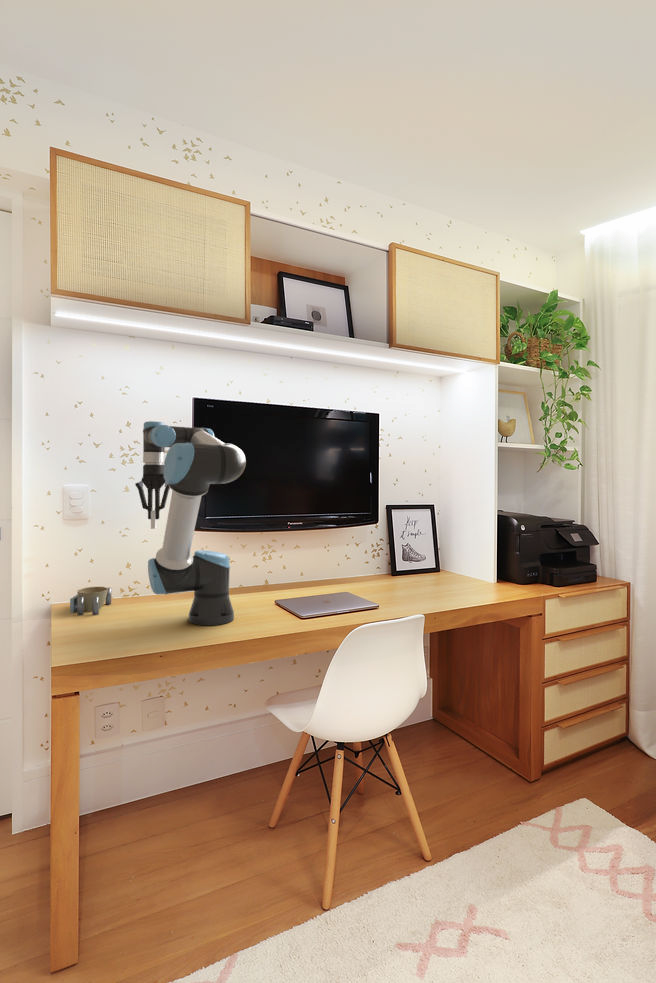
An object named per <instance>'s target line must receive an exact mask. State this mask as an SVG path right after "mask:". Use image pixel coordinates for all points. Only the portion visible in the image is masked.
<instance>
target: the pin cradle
mask: <svg viewBox="0 0 656 983" xmlns="http://www.w3.org/2000/svg"><path fill="white" fill-rule="evenodd" d="M107 588H108V592H107V596H106V599H105V601H104V603H105V605H107V606H110V605H112V587H107ZM69 606H70V607H69V613H70V614H75V613H76V612H77V613H76V614H77V616H83V615H84V614H85V613H84V611H85V609H84V597H78V593H76V595H74V596H72V597H71V598H69ZM91 612H92V616H99V615H100V614H99V612H100V609H99V597H92V611H91Z"/></svg>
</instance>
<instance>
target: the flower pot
mask: <svg viewBox="0 0 656 983" xmlns="http://www.w3.org/2000/svg"><path fill="white" fill-rule="evenodd" d="M108 588H109V587H106V586H90V587H89V586H88V587H83V588H79V589H78V590H76V592H77V594H78V597H84V611H87V612H92V597H99V610H101V608H102V607H103V605H104V603H105V599H106V596H107V592H108Z"/></svg>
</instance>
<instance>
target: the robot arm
mask: <svg viewBox="0 0 656 983" xmlns="http://www.w3.org/2000/svg"><path fill="white" fill-rule="evenodd" d="M142 436H143V437H142V438H143V442H142V444H143V446H142V447H143V448H142V449H143V451H142V454H143V455H142V456H143V457H142V463H143V467H142V478H141V480H140V481H139V482H135V483H134V484H135V487H136V488H137V490H138V494H139V498H140V502H141V506H142V509H143V510H146V511H147V519H148V520H150V529H153V530H155V529H157V520H159V519H160V510H163V509H165V507H166V503H167V501H168V500H167V499H168V496H169V492H170V489H171V497H170V502H169V509H168V512H167V519H166V525H165V531H164V537H163V542H162V546H161V548H159V550H157V552H156V554H155V558H154V557H152V558H149V559H148V562H147V572H148V579H149V584H150V588H151V591H152V592H153V593H154V594H156V595H169V594H179V593H185V592H186V593H187V592H193V595H194V597H193V600H192V603H191V606H190V609H189V612H188V622H189V623H191V624H192V625H198V626H219V625H224V624H228V623H231V622H232V621H234V619H235V611H234V608H233V605H232V602H231V598H230V569H231V567H230V558H229V555H228V554H226V553H224V552H218V551H213V550H195V551H194V553H191V548H192V544H193V540H194V539H193V538H194V534H195V529H196V525H197V519H198V514H199V511H200V510H199V509H200V506H201V501H202V496H203V495H204V496H205V495H206V494H207V493H208V492H209V488H210V485H221V484H223V485H224V484H228V483H231V482H234V481H235V480H238V478H240V476H241V475H242V474H243V473H244V470H245V468H246V465H247V459H246V455H245V453H244V451H243V450H242V449H241V448H239V447H238V446H237V445H235V444H233V443H225V442H223V441H221V439H218V438H217V437H216V436H215V433H214V431H213V430H212V429H211V428H206V427H190V426H189V427H186V426H175V425H173V426H172V425H167V424H165V423H164V422H162V421H155V420H154V421H150V420H149V421H145V422H144V423H143V430H142ZM166 448H168V450H167V452H166V451H165V450H166ZM165 454H166V455H165ZM144 486H145V487H146V488H147V499H146V495H145V491H144V488H143V487H144ZM163 486H164V490H163V494H162V498H161V497H160V496H161V489H162V487H163ZM153 491H154V496H153ZM153 497H154V504H153ZM160 498H161V499H160ZM153 505H154V510H153ZM192 554H193V555H192Z"/></svg>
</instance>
